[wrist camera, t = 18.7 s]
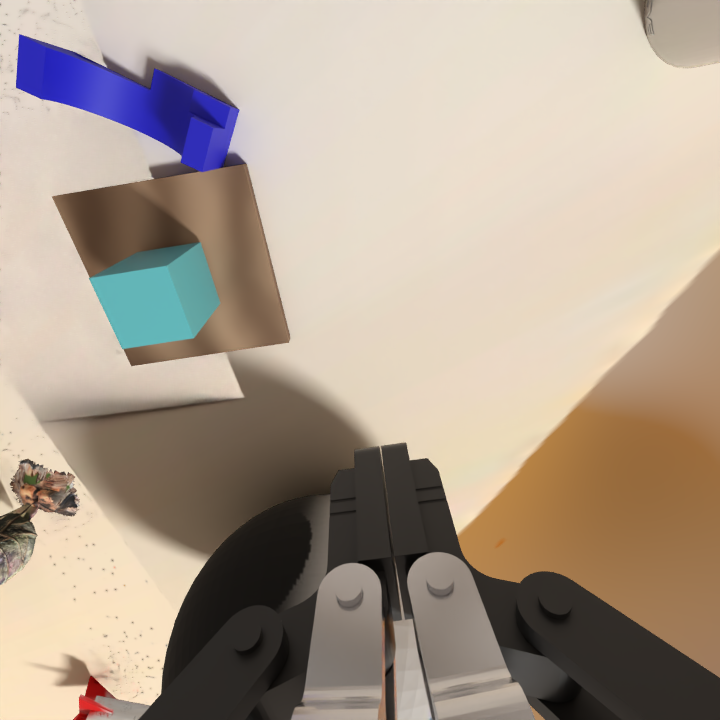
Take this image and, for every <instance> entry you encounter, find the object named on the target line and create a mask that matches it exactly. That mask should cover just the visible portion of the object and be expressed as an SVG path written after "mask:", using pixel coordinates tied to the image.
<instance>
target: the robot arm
mask: <svg viewBox="0 0 720 720" xmlns="http://www.w3.org/2000/svg"><path fill="white" fill-rule="evenodd" d="M644 22H645V30H646V35H647V38H648V41H649V43H650V46H651V48H652V49H653V51H654V52H655V53H656V55H657V56H658V57H659V58H660V59H661V60H663V61H664V62H665V63H667V64H669V65H672V66H674V67H678V68H695V67H700V66H705V65H710V64H715V63H720V0H646V1H645V9H644ZM381 448H382V457H383V465H384V472H383V466H382V460H381V454H380V448H379V446H378V447H371V448H363V449H356V450H354V460H355V468H353V469H345V470H338V472H337V474H336V476H335V478H334V480H333V482H332V483H331V489H330V517H329V538H328V562H327V572H326V575H325V578H324V579H323V581H322V582H321V584H320V587H319V588H318V589H317V591H316V592H315V593H314V594H313V595H312V596H311V597H309V598H308V599H307V600H305V601H303V602H302V603H300V604H298V605H296V606H293V607H291V608H289V609H287V610H285V611H283V612H281V613H279V614H277V613H276V612H275V611H274V610H273V609H271V608H270V607H267V606H262V605H255V606H250V607H247V608H245V609H242V610H241V611H239V612H237V613H236V614H235V615H233V616H232V617H231V618H230V619H229V620H228V621H227V622H226V623H225V624H224V625H223V627H222V628H221V629H220V630H219V631H218V632H217V633H216V634H215V635H214V636H213V638H212V639H211V640H210V641H209V642H208V643H207V644H206V645H205V646H204V648H203V649H202V650H201V651H200V652H199V653H198V654H197V655H196V656H195V657H194V659H193V660H192V661H191V662H190V663H189V664H188V665H187V666H186V667H185V668H184V670H183V671H182V672H181V673H180V674H179V675H178V676H177V677H176V678H175V680H174V681H173V682H172V683H171V684H170V685H169V686H168V687H167V688H166V689H165V691H164V692H163V693H162V694H161V695H160V696H159V697H158V698H157V699H156V700H155V702H154V703H153V704H152V705H151V706H150V707H149V708H148V709H147V710H146V712H145V713H144V714H143V715H142V716H141V717H140V718H139V719H138V720H397V693H396V660H395V653H396V643H395V633H394V623H393V621H401V620H402V615H401V606H400V598H399V590H398V581H399V587H400V593H401V599H402V605H403V611H404V617H405V620H407V619H413V625H414V632H415V638H416V644H417V651H418V658H419V662H420V667H421V672H422V677H423V681H424V686H425V691H426V695H427V700H428V705H429V710H430V714H431V719H432V720H535V718H534V715H533V713H532V710H531V708H530V705H531V706H532V707H533V708H534V709H535V710H536V711H537V712H538V713H539V714H540V715H541V716H542V717H543V718H544V719H545V720H720V678H719V677H718V676H716V675H715V674H713V673H711V672H710V671H709V670H707V669H706V668H704V667H703V666H701V665H699V664H698V663H696V662H695V661H693V660H692V659H690V658H689V657H687V656H686V655H684V654H683V653H681V652H680V651H678V650H677V649H675V648H674V647H672V646H671V645H669V644H668V643H666V642H665V641H663V640H662V639H660V638H658V637H657V636H655V635H654V634H652V633H651V632H650V631H648V630H646V629H645V628H643V627H642V626H640V625H639V624H637V623H636V622H634V621H633V620H631V619H630V618H628V617H627V616H625V615H624V614H622V613H621V612H619V611H618V610H616V609H615V608H613V607H612V606H610V605H609V604H607V603H606V602H604V601H603V600H601V599H600V598H598V597H597V596H595V595H594V594H592V593H590V592H589V591H587V590H586V589H584V588H583V587H581V586H580V585H578V584H577V583H575V582H574V581H572V580H570V579H569V578H567V577H565V576H563V575H560V574H557V573H554V572H536V573H533V574H530V575H528V576H527V577H525V578H524V579H523V580H522V581H521V583H515V582H510V581H505V580H500V579H495V578H492V577H489V576H486V575H484V574H482V573H480V572H479V571H477V570H476V569H475V568H473V567H472V566H471V565H470V564H469V563H468V561H467V560H466V559H465V557H464V556H463V554H462V551H461V549H460V545H459V542H458V538H457V534H456V531H455V527H454V524H453V520H452V517H451V513H450V510H449V506H448V503H447V500H446V496H445V492H444V489H443V485H442V482H441V478H440V474H439V471H438V469H437V468H436V467H435V466H434V465H433V464H432V463H431V462H430V461H429V460H428V459H427V458H425V459H418V460H411V461H410V460H409V455H408V450H407V445H406V443H399V444H391V445H384V446H381ZM384 474H385V479H384ZM385 482H386V485H385ZM395 563H396V565H395ZM396 569H397V573H396ZM397 575H398V581H397ZM529 704H530V705H529Z"/></svg>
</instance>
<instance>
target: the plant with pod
mask: <svg viewBox="0 0 720 720" xmlns="http://www.w3.org/2000/svg"><path fill="white" fill-rule="evenodd" d="M13 477H14V478H13V479H11V480H13V481H14V482H13V481H12V482H11V483H10V485H11V486H14V487H10V488H13V489H12V491H13V492H14V493H15V494H16V493H18V494H17V495H16V496H17V497H18V498H17V499H19V503H21V504H20V505H22V507H20V508H18V509H16V510H14V511H12V512H10V513H7V514H5V515H3V516H0V585H2V584H3V583H5V582H7V580H9V579H10V578H12V577H13V576H14V575H16V573H17V572H19V571H20V570H22V569H23V568H24V567H25V565H26V564H27V562H28V561H29V559H30V557H31V555H32V553H33V549H34V544H35V539H36V537H37V534H36V533H35V529H34V525H33V523H32V522H30V519H31V518H32V517H33V516H34V515H35V514H36V513H37V510H38V509H41V510H44V512H55V513H56V512H57V513H59V514H63V515H66V516H72V515H73V516H75V514H76V512H77V511H76V510H77V507H78V506H79V502H80V501H79V500H80V499H78V497H77V495H75V494H74V493H75V492H76V491H77V490H76V489H75V488H74V487H73V486H74V484H73V483H72V482H74V478H75V476H73V475H72V474H70V473H69V472H68V474H67V475H66V474H65V472H61V473H59V472H57V471H56V470H55V471H54V474H53V473H52V470H51V469H50V471H49V472H48V468H43V465H39V464H37V465H35V463H34V464H33V461H30V460H29V459H25V460H21V463H20V465H19V470H17V472H16V474H15V476H13ZM17 499H16V500H17Z"/></svg>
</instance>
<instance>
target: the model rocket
mask: <svg viewBox="0 0 720 720" xmlns="http://www.w3.org/2000/svg"><path fill="white" fill-rule="evenodd" d="M149 707H150V706H149V705H144V704H139V703H133V702H128V701H123V700H118V699H116V698H115V697H114V696H113V695H112V694H111V693H109V692H108V691H107V690H106V689H105V688H104V687H103V686H102V685H101V684H100V683H99V682H98V681H96V680H95V679H94V678H93V677H92V676H90V679H89V682H88V686H87V690H86V694H85V696H83V695H80V697H79V714H78V715H77V716H76V717H75V718H74V719H73V720H138V719H139V718H140V717H141V716H142V715H143V714H144V713H145V712H146V710H147V709H148V708H149Z"/></svg>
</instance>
